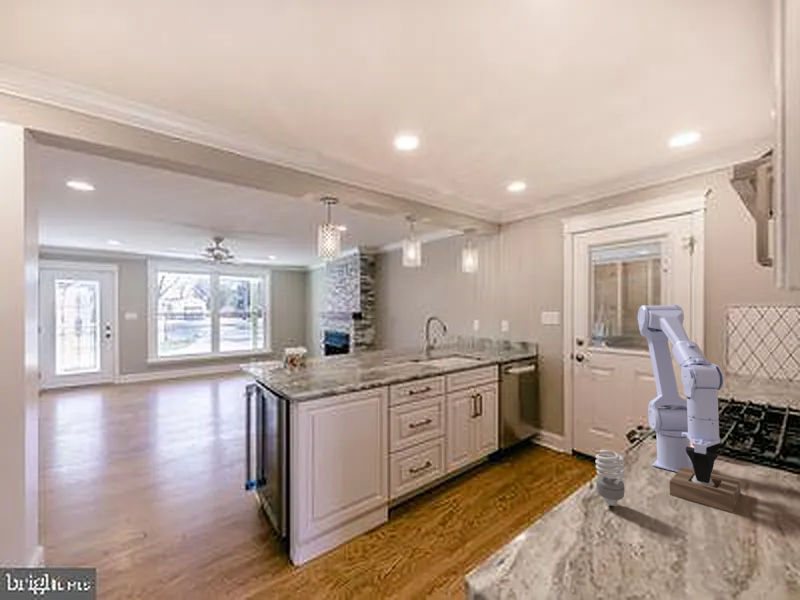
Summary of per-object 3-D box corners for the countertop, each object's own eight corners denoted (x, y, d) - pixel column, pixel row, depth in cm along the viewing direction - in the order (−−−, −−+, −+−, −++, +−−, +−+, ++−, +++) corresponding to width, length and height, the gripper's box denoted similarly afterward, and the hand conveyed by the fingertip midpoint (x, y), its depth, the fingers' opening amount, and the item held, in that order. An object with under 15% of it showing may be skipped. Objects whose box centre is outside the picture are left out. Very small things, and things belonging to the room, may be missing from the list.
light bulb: (590, 502, 86) (589, 448, 87) (608, 497, 88) (606, 444, 89) (613, 514, 81) (611, 456, 81) (631, 509, 83) (630, 452, 84)
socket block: (682, 478, 98) (682, 466, 98) (740, 493, 89) (740, 480, 90) (669, 494, 89) (669, 481, 89) (732, 512, 81) (731, 497, 81)
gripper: (685, 407, 98) (687, 462, 98) (676, 420, 87) (678, 481, 87) (721, 412, 93) (723, 469, 93) (717, 426, 82) (719, 491, 82)
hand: (704, 476), depth 90 cm, fingers open, 7 cm apart
